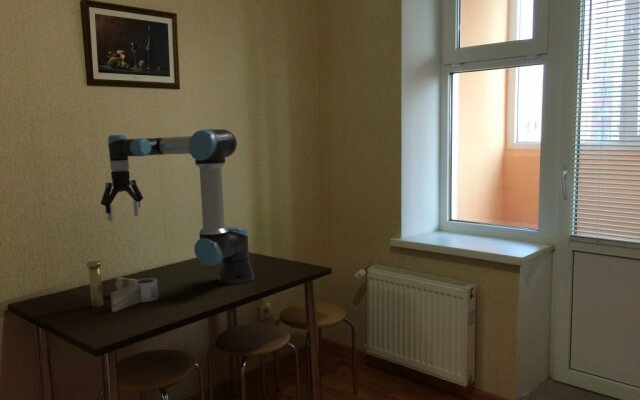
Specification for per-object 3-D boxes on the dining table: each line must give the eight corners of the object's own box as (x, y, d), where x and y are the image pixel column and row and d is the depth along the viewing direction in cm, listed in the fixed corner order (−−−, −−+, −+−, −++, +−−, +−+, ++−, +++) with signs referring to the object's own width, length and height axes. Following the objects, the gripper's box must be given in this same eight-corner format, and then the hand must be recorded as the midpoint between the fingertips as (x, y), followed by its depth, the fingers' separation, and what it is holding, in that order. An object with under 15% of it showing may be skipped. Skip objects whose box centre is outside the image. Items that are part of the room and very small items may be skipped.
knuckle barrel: (162, 296, 206) (161, 279, 205) (146, 303, 198) (145, 285, 197) (147, 294, 209) (145, 277, 209) (130, 300, 202) (129, 283, 201)
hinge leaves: (149, 298, 204) (147, 281, 203) (114, 312, 189) (112, 293, 188) (118, 293, 212) (117, 277, 211) (83, 306, 197) (81, 288, 196)
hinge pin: (108, 304, 199) (104, 261, 197) (96, 308, 194) (92, 264, 192) (98, 302, 201) (94, 260, 199) (87, 306, 197) (83, 263, 195)
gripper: (138, 168, 242) (141, 213, 244) (89, 172, 221) (93, 222, 223) (148, 168, 238) (152, 214, 240) (99, 172, 217) (104, 223, 219)
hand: (124, 218), depth 232 cm, fingers open, 13 cm apart
